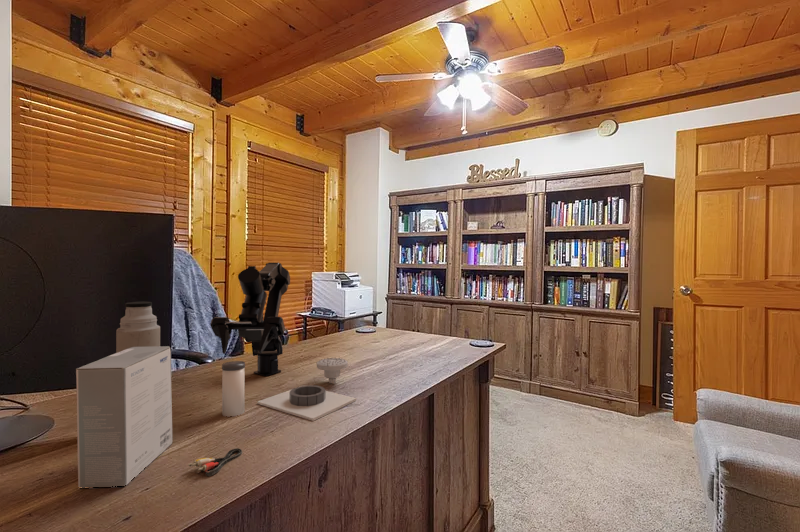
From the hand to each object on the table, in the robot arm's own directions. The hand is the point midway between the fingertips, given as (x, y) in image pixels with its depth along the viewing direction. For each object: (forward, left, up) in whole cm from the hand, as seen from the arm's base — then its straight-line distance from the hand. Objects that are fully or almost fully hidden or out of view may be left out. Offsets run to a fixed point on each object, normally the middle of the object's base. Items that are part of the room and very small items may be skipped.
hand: (242, 352), depth 101 cm
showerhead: (+8, +26, -13) cm, 30 cm away
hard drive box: (+10, -30, -13) cm, 35 cm away
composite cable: (+24, -21, -14) cm, 35 cm away
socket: (+14, +10, -13) cm, 22 cm away
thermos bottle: (-5, -22, -13) cm, 26 cm away
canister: (+4, -5, -13) cm, 15 cm away
